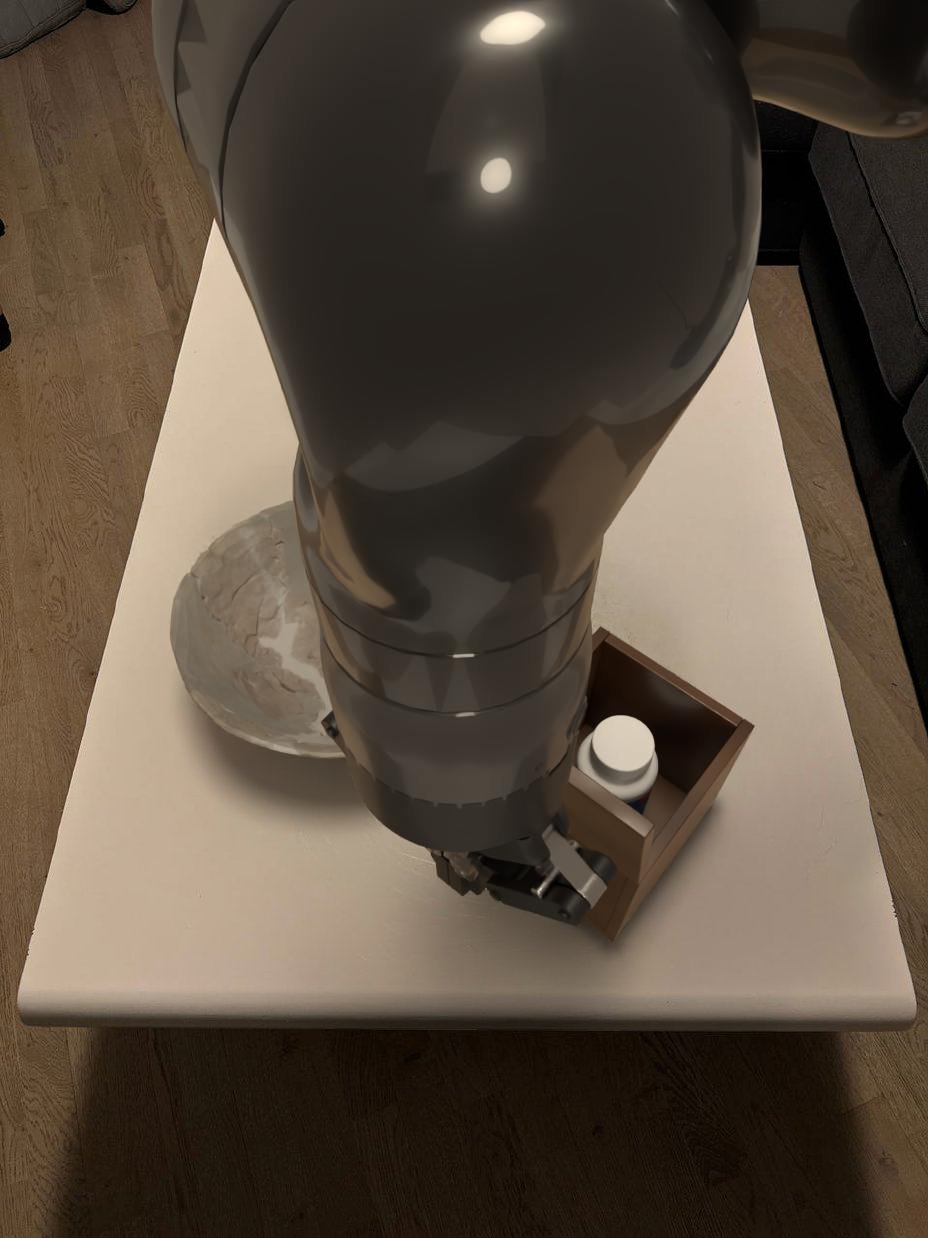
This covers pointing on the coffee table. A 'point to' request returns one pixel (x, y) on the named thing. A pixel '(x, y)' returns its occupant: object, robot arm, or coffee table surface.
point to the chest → (659, 758)
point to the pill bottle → (621, 759)
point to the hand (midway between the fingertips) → (466, 870)
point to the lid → (608, 825)
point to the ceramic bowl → (255, 638)
